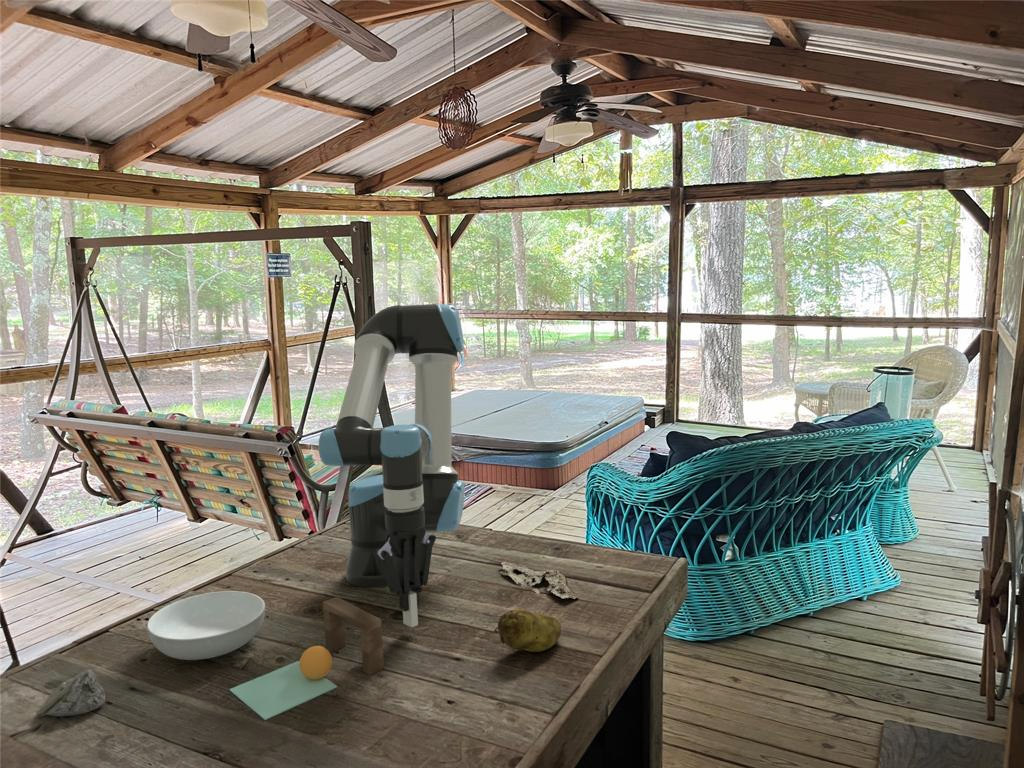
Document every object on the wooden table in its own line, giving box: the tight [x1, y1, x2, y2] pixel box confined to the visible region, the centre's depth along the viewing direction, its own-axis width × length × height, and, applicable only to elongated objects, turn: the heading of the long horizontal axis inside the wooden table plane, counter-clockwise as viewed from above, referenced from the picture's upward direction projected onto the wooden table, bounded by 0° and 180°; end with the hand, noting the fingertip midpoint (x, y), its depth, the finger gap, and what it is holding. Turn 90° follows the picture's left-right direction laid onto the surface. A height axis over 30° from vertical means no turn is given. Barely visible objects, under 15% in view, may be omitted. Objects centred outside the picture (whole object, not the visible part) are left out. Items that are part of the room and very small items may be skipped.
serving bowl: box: [146, 590, 266, 661], centre depth 142 cm, size 21×21×7 cm
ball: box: [299, 645, 333, 680], centre depth 129 cm, size 6×6×6 cm
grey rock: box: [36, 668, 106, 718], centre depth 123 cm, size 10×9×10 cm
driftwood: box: [499, 561, 579, 600], centre depth 167 cm, size 25×10×5 cm
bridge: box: [322, 596, 385, 676], centre depth 135 cm, size 3×14×9 cm, turn 45°
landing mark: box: [228, 660, 338, 721], centre depth 126 cm, size 13×13×1 cm
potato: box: [497, 608, 562, 653], centre depth 136 cm, size 8×13×8 cm, turn 108°
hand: (410, 624), depth 144 cm, fingers closed
